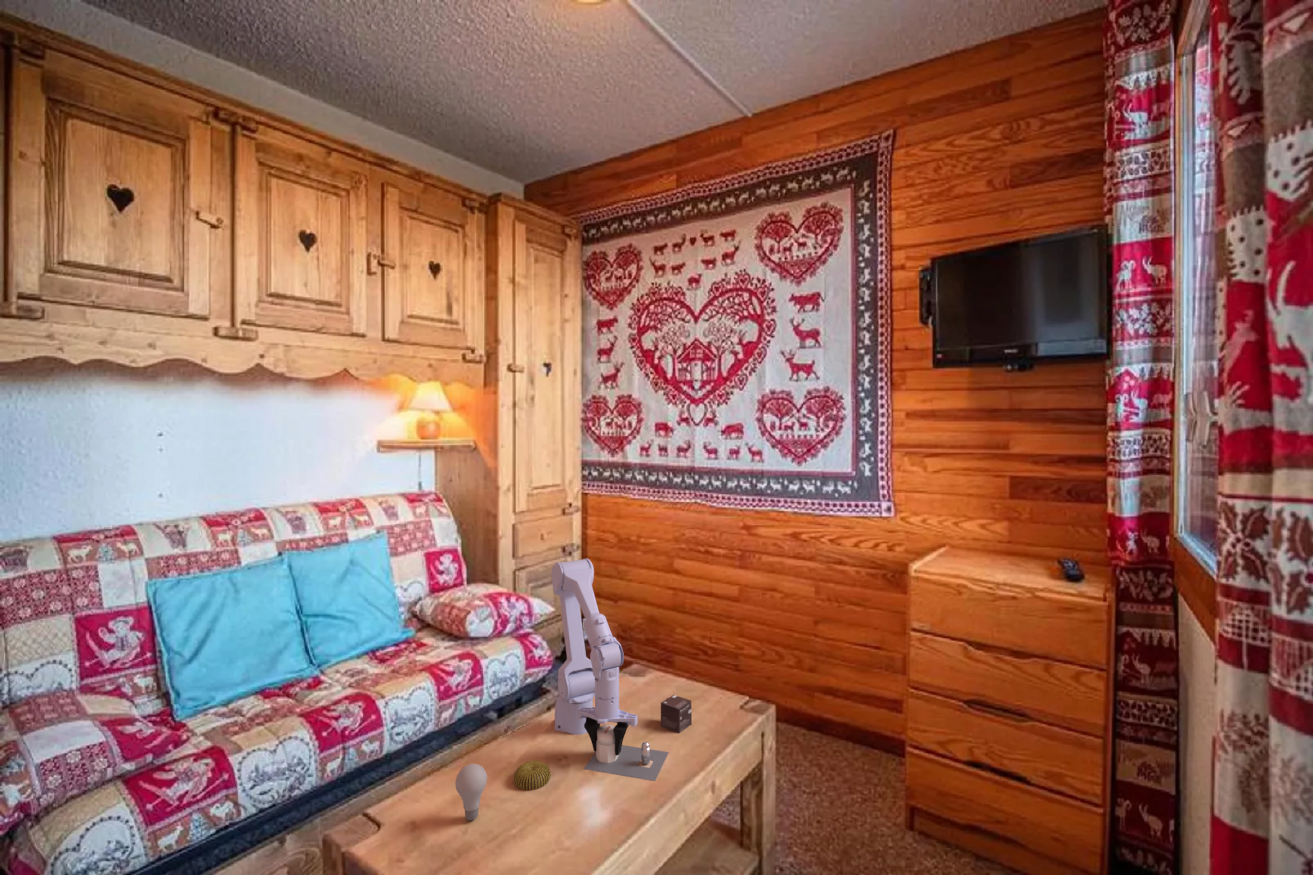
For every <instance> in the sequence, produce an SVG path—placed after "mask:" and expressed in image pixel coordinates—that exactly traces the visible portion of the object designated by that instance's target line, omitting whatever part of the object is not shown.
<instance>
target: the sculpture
mask: <svg viewBox="0 0 1313 875" xmlns="http://www.w3.org/2000/svg"><path fill="white" fill-rule="evenodd" d="M550 779H551V770H550V767H549V765H547V764H546V763H545V762H543V761H542V760H528V761H526V762H523V763H522V764H520V765H519V766H518V767H517V768H516V769H515V771H514V774H513V782H514V785H515V787H516V788H518V789H520V790H524V791H534V790H537V789H540V788H543V787H544V786H545V785H547V784H548V782H549V781H550ZM534 784H535V785H534ZM534 786H535V787H534Z"/></svg>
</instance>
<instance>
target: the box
mask: <svg viewBox="0 0 1313 875" xmlns="http://www.w3.org/2000/svg"><path fill="white" fill-rule="evenodd" d="M692 716H693V715H692V700H691V699H688V698H685V697H682V696H678V695H675V694H673V695H671V696H670V697H667V698H666V699H664V700H663V701H661V702H660V727H661V728H664V729H666V730H668V731H671V732H674V733H677V734H681V733H682V732H683V731H684V730H686V729H688V727H690V726H693V725H692V724H693V723H692V721H693V720H692Z"/></svg>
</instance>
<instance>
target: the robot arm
mask: <svg viewBox="0 0 1313 875" xmlns="http://www.w3.org/2000/svg"><path fill="white" fill-rule="evenodd" d="M594 568H595V567H594V565H593V563H592V561H591V560H590V559H589V558H583V559H578V560H577V559H575V560H571V561H562V562H559V561H557V562H555V563H554V564H553V565H552V568H551V574H550V575H551V583H552V590H553V594H554V595H556V596H558V597H559V602H560V612H561V619H562V626H563V636H564V644H565V652H566V660H565V661H564V663H563V664H562V665H561V666H560V667H559V668H558V671H557V690H558V694H559V695H558V697H557V699H556V701H555V706H554V731H556V732H564V733H567V734H570V735H574V736H575V735H576V736H577V735H578V736H580V735H581V736H582V735H585V734H588V736H589V739H590V741H591V744H592V748H593V752H594V753H595V752H596V741H597V729H598V728H599V727H600V726H601V724H602V725H607V723H616V724H615V725H614V726H615V727H614V729H613V731H614V736H615V755H619V753H620V752H621V747H622V745H623V741H624V738H625V735H626V732H627V730H628V727H629V726H630V727H632V728H635V727H636V726H637V725H638V722H639V721H638V717H639V716H638V714H634V713H630V712H628V711H625V710H622V709H620V667H621V666H622V665H623V664H624V660H625V659H624V657H625V654H624V651H623V647H622V645H621V643H620V641H619V640H617V637H616V636H613V634H612V631H611V629H610V626H609V623H608V620H607V618H606V616H605V615H604V614H602V613H600V611H599V608H598V604H597V600H596V597H595V596H596V595H595V592H594V589H593V583H594V577H595V570H594ZM581 611H582V614H583V616H584V618H585V620H584V622H583V623H582V615H581ZM583 628H584V629H583ZM584 631H585V634H586V638H587V640H588V643H589V647H590V649H591V650H590V654H589V656H590V658H588V657H587V654H586V647H585V645H586V644H585V639H584Z"/></svg>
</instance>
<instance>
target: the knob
mask: <svg viewBox="0 0 1313 875" xmlns="http://www.w3.org/2000/svg"><path fill="white" fill-rule="evenodd" d="M615 726H616V725H614V724H613V725H611V724H602V725H600V727H599V728H598V729H597V741H596V758H597V759H598V760H599V762H603V763H610V762H614V761H616V759H617V758H618V755H615V736H614V731H613V729H614V727H615Z"/></svg>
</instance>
